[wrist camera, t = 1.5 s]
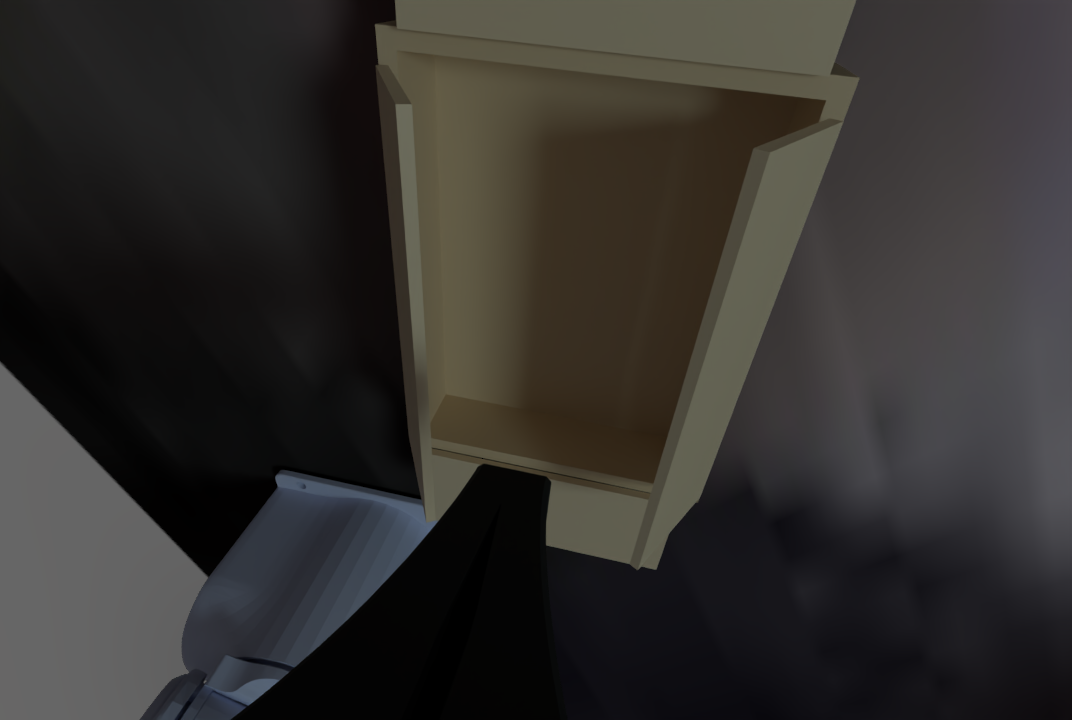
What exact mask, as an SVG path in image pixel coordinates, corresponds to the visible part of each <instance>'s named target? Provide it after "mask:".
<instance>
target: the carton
mask: <svg viewBox="0 0 1072 720" xmlns="http://www.w3.org/2000/svg"><path fill="white" fill-rule="evenodd" d="M855 2H856V0H395V8H396V20H394V21H388V22H383V23H378V24H375V30H376V41H377V53H378V64H379V65H388V66H389V67H390V69H391V71H392V72H393V74H394V76H395V77H396V79H397V81H398V82H399V84H400V86H401V87H402V89H403V90H404V92H405V94H406V95H407V97H408V99H409V100H410V102H411V104H412V114H413V132H414V149H415V167H416V184H417V202H418V219H419V237H420V255H421V272H422V290H423V307H424V325H425V342H426V360H427V378H428V395H429V413H430V430H431V447H432V448H437V449H442V450H447V451H452V452H456V453H461V454H466V455H471V456H476V457H480V458H485V459H490V460H495V461H500V462H505V463H509V464H514V465H519V466H524V467H529V468H534V469H538V470H543V471H548V472H553V473H558V474H563V475H567V476H572V477H577V478H582V479H587V480H592V481H596V482H601V483H606V484H611V485H616V486H620V487H625V488H630V489H635V490H640V491H645V492H649V493H651V491H652V487H653V484H654V480H655V477H656V474H657V470H658V467H659V464H660V460H661V457H662V454H663V450H664V447H665V444H666V440H667V437H668V433H669V430H670V427H671V423H672V420H673V417H674V413H675V410H676V407H677V403H678V400H679V397H680V393H681V390H682V387H683V383H684V380H685V376H686V373H687V370H688V366H689V363H690V360H691V356H692V353H693V350H694V346H695V343H696V340H697V336H698V333H699V330H700V326H701V323H702V319H703V316H704V313H705V309H706V306H707V303H708V299H709V296H710V293H711V289H712V286H713V283H714V279H715V276H716V273H717V269H718V266H719V262H720V259H721V256H722V252H723V249H724V246H725V242H726V239H727V236H728V232H729V229H730V226H731V222H732V219H733V215H734V212H735V209H736V205H737V202H738V199H739V195H740V192H741V189H742V185H743V182H744V179H745V175H746V172H747V169H748V165H749V162H750V158H751V155H752V152H753V148H755V147H758V146H760V145H763V144H765V143H768V142H771V141H773V140H776V139H778V138H781V137H783V136H786V135H788V134H791V133H793V132H796V131H798V130H801V129H804V128H806V127H809V126H811V125H814V124H816V123H819V122H821V121H824V120H826V119H829V118H831V119H835V120H840V121H844V118H845V115H846V113H847V110H848V108H849V105H850V102H851V100H852V97H853V94H854V92H855V89H856V87H857V84H858V81H859V79H860V78H859V77H858V76H856V75H854V74H853V73H851V72H850V71H848V70H846V69H845V68H843V67H841V66H840V65H838V64H837V63H835V59H836V56H837V53H838V50H839V48H840V45H841V42H842V39H843V36H844V33H845V31H846V28H847V25H848V22H849V19H850V16H851V13H852V11H853V8H854V5H855ZM437 449H432V465H433V483H434V500H435V518H436V521H439V520H440V518H441V517H442V516H443V514H444V513H445V512H446V511H447V509H448V508H449V507H450V506H451V504H452V503H453V502H454V500H455V499H456V498H457V496H458V495H459V494H460V492H461V491H462V489H463V488H464V487H465V485H466V484H467V482H468V481H469V479H470V478H471V476H472V475H473V473H474V472H475V470H476V469H477V467H478V466H480V465H482V464H484V463H485V464H489V465H494V466H499V467H504V468H508V469H513V470H518V471H523V472H528V473H532V474H537V475H542V476H547V478H548V479H549V480H550V481H551V490H550V497H549V505H548V513H547V520H546V545H548V546H552V547H557V548H561V549H566V550H570V551H575V552H579V553H584V554H588V555H593V556H597V557H601V558H606V559H610V560H615V561H619V562H624V563H628V564H630V561H631V558H632V554H633V551H634V548H635V544H636V541H637V537H638V534H639V531H640V527H641V524H642V521H643V517H644V514H645V511H646V507H647V504H648V501H649V497H650V494H649V493H644V492H640V491H635V490H630V489H625V488H620V487H615V486H611V485H606V484H601V483H596V482H591V481H587V480H582V479H577V478H572V477H567V476H562V475H558V474H553V473H548V472H543V471H538V470H533V469H529V468H524V467H519V466H514V465H509V464H505V463H500V462H495V461H490V460H485V459H480V458H476V457H471V456H466V455H461V454H456V453H452V452H447V451H442V450H437ZM698 501H699V499H698V500H697V501H696V502H698ZM668 535H669V534H668ZM668 535H667V536H666V538H665V539H664V540H663V541H662V542H661V543H660V545H659V546H658V547H657V548H656V549H655V550H654V552H653V553H652V554H651V555H650V556H649V558H648V559H647V560H646V561H645V562H644V563H643V565H642V567H646V568H651V569H655V570H656V569H657V566H658V563H659V560H660V557H661V555H662V552H663V549H664V546H665V543H666V540H667V537H668Z"/></svg>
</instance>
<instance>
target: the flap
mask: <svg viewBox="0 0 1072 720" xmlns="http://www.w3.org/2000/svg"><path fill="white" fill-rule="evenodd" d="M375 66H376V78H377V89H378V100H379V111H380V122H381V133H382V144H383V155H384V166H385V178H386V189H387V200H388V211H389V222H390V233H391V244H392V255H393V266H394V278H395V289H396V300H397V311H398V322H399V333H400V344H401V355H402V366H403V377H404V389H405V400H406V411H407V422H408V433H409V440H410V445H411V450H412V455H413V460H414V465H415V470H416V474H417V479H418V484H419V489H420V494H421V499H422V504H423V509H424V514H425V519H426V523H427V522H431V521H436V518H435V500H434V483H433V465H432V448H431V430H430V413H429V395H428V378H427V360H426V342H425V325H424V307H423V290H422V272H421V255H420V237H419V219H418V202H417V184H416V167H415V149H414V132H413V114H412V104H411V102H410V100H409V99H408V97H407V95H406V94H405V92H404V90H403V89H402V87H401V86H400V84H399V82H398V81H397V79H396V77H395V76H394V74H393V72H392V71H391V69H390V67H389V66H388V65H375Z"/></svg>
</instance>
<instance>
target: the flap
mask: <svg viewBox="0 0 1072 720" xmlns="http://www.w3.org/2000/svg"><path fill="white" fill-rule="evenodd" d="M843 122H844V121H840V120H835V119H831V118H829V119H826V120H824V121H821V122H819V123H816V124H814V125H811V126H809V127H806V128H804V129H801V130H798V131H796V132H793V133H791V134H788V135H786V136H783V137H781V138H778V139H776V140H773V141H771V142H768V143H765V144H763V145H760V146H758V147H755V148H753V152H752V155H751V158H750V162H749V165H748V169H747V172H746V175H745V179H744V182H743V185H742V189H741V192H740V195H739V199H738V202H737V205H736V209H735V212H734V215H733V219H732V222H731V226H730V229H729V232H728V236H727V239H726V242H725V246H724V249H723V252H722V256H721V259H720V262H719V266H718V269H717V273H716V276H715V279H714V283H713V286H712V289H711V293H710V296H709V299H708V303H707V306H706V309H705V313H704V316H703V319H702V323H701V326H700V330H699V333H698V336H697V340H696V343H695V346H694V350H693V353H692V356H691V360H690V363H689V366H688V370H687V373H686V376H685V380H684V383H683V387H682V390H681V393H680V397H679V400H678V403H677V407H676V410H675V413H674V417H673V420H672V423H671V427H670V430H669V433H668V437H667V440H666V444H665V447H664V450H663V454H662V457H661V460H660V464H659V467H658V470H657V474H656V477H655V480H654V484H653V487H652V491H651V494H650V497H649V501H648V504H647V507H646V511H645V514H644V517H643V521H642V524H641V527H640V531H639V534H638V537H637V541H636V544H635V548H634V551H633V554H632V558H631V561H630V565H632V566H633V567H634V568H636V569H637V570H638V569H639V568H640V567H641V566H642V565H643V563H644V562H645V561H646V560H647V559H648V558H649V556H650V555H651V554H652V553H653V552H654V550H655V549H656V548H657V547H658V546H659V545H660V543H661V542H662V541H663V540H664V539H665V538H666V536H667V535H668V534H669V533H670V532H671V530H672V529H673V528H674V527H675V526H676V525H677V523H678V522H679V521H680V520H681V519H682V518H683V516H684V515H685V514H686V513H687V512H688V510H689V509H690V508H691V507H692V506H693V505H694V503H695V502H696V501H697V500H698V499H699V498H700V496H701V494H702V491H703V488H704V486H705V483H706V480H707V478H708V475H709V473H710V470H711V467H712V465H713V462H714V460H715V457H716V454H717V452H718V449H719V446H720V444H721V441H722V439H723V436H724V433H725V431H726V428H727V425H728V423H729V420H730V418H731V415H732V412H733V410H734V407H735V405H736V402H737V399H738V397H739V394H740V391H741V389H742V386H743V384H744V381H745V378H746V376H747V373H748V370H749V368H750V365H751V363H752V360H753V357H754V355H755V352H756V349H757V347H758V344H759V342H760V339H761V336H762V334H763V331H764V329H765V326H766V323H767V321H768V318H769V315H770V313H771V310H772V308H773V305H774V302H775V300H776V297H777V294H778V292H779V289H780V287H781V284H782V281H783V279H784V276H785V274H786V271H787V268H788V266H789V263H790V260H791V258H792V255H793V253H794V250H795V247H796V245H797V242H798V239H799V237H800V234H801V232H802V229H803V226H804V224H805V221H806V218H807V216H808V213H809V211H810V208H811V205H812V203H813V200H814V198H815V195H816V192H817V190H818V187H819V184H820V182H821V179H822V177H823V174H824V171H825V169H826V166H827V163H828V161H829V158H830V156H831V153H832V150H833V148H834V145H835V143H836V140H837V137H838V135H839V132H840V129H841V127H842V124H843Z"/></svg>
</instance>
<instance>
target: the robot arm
mask: <svg viewBox="0 0 1072 720" xmlns="http://www.w3.org/2000/svg"><path fill="white" fill-rule="evenodd" d="M275 479H276V482H277V486H278V487H277V489H276V490H275V491H274V493H273V494H272V495H271V496H270V498H269V499H268V500H267V502H266V503H265V504H264V506H263V507H262V508H261V510H260V511H259V512H258V513H257V515H256V516H255V517H254V519H253V520H252V521H251V523H250V524H249V525H248V527H247V528H246V529H245V530H244V532H243V533H242V534H241V536H240V537H239V538H238V540H237V541H236V542H235V544H234V545H233V546H232V548H231V549H230V550H229V551H228V553H227V554H226V555H225V557H224V558H223V559H222V561H221V562H220V563H219V565H218V566H217V567H216V568H215V570H214V571H213V572H212V574H211V575H210V576H209V578H208V579H207V581H206V582H205V584H204V585H203V587H202V589H201V591H200V592H199V594H198V596H197V598H196V600H195V602H194V604H193V606H192V609H191V611H190V613H189V616H188V619H187V621H186V624H185V628H184V632H183V637H182V658H183V662H184V665H185V667H186V669H187V670H188V671H189V673H188V674H184V675H181V676H179V677H176V678H174V679H172V680H171V681H170V682H169V683H168V684H167V685H166V686H165V688H164V689H163V690H162V691H161V692H160V694H159V695H158V696H157V698H156V699H155V700H154V701H153V703H152V704H151V705H150V707H149V708H148V709H147V711H146V712H145V713H144V715H143V716H142V717H141V719H140V720H568V719H567V715H566V709H565V704H564V698H563V693H562V687H561V682H560V676H559V669H558V663H557V657H556V650H555V643H554V635H553V627H552V619H551V610H550V600H549V589H548V574H547V559H546V520H547V513H548V505H549V497H550V490H551V481H550V480H549V479H548V478H547V476H542V475H537V474H532V473H528V472H523V471H518V470H513V469H508V468H504V467H499V466H494V465H489V464H485V463H484V464H482V465H480V466H478V467H477V469H476V470H475V472H474V473H473V475H472V476H471V478H470V479H469V481H468V482H467V484H466V485H465V487H464V488H463V489H462V491H461V492H460V494H459V495H458V496H457V498H456V499H455V500H454V502H453V503H452V504H451V506H450V507H449V508H448V509H447V511H446V512H445V513H444V514H443V516H442V517H441V518H440V520H439V521H431V522H427V523H426V519H425V514H424V509H423V504H422V500H420V499H415V498H411V497H406V496H402V495H397V494H393V493H388V492H384V491H379V490H374V489H370V488H365V487H361V486H356V485H352V484H347V483H343V482H338V481H333V480H329V479H324V478H320V477H315V476H311V475H306V474H302V473H297V472H293V471H288V470H281V471H279V472H278V474H277V475H276V476H275ZM204 680H207V682H206V683H205V684H204V683H203V682H204Z"/></svg>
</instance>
